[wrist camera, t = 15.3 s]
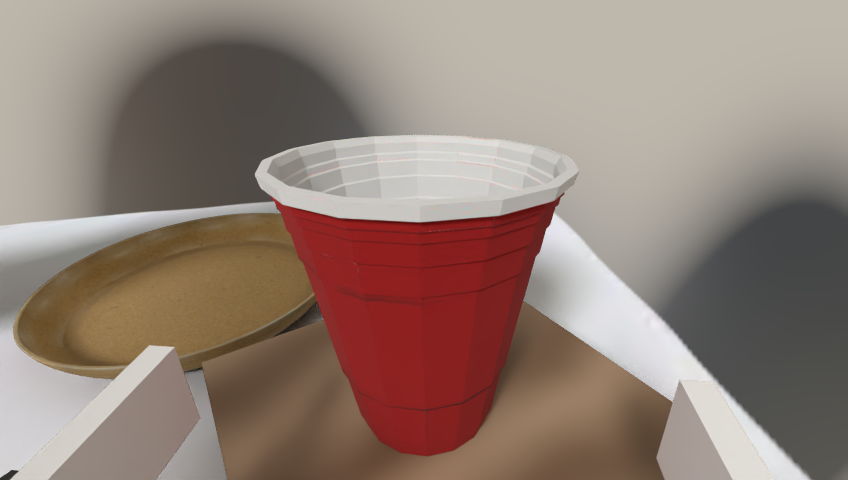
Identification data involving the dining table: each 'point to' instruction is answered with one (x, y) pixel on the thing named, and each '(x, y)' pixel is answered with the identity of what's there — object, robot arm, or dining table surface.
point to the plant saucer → (169, 296)
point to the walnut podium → (452, 471)
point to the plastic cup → (419, 267)
